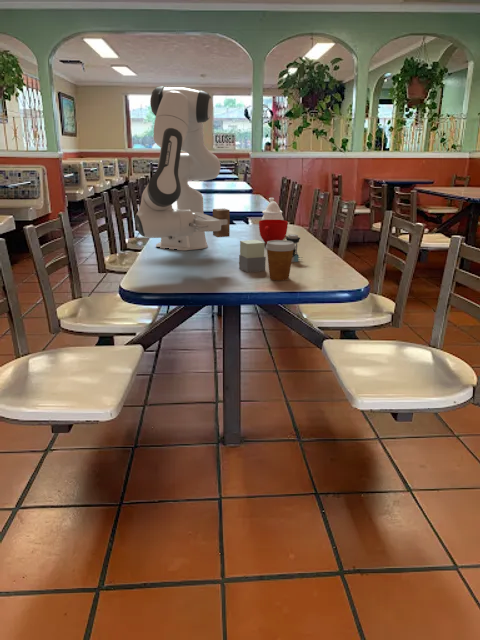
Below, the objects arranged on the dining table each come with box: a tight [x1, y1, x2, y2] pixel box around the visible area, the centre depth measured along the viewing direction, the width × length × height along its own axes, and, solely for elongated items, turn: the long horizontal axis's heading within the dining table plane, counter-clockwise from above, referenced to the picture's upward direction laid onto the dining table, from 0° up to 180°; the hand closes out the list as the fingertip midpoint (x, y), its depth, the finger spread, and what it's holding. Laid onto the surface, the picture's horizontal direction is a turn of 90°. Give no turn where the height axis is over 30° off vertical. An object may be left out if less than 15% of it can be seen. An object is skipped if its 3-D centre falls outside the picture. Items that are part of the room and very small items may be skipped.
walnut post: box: [212, 208, 231, 238], centre depth 170 cm, size 4×4×9 cm
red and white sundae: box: [258, 197, 285, 237], centre depth 245 cm, size 13×13×18 cm
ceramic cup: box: [258, 219, 288, 245], centre depth 223 cm, size 13×17×10 cm
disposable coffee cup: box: [265, 239, 296, 282], centre depth 163 cm, size 10×10×12 cm
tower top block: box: [239, 239, 266, 258], centre depth 175 cm, size 6×6×5 cm
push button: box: [285, 234, 303, 263], centre depth 188 cm, size 7×5×10 cm
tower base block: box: [238, 254, 267, 273], centre depth 176 cm, size 7×7×5 cm
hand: (223, 220), depth 171 cm, fingers closed on walnut post, 4 cm apart
